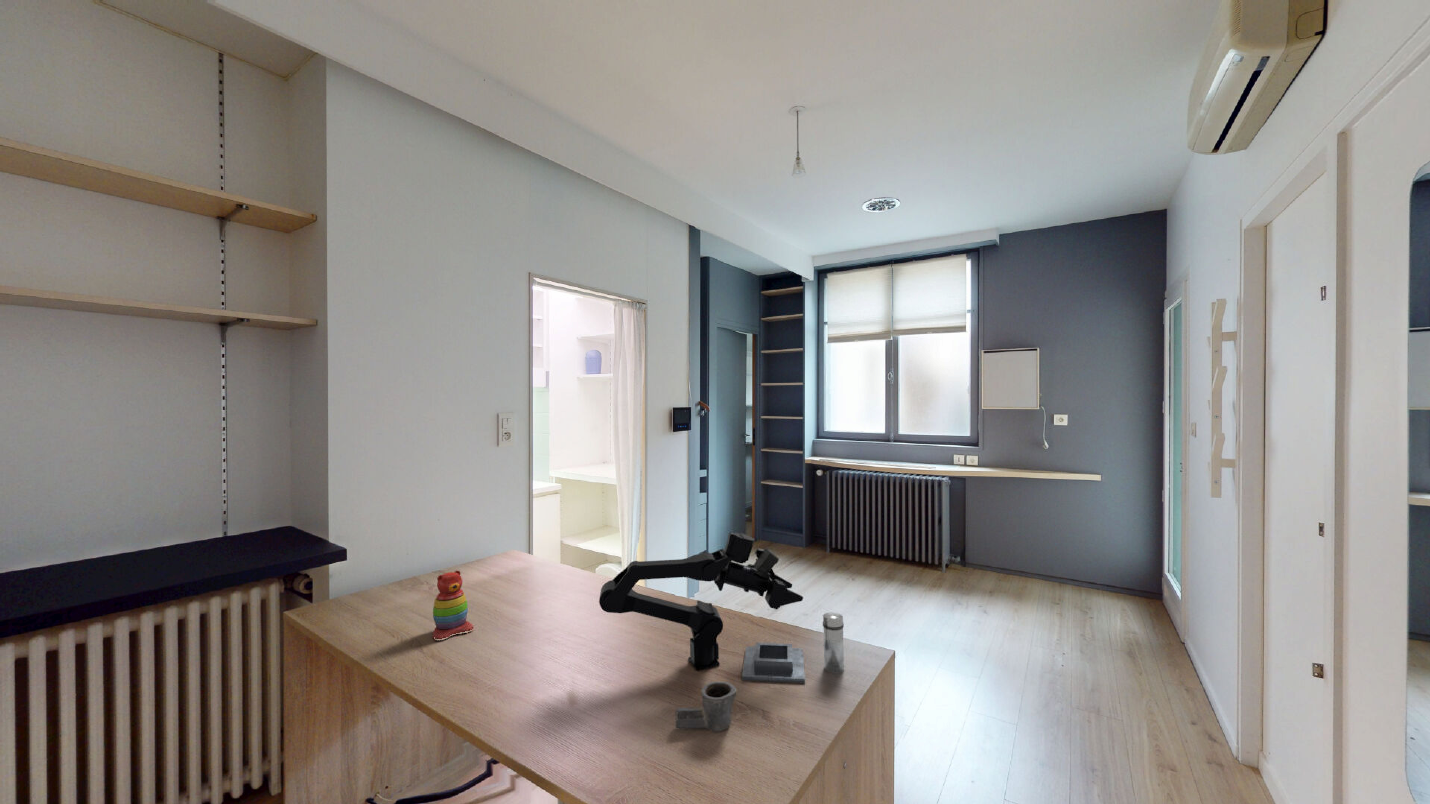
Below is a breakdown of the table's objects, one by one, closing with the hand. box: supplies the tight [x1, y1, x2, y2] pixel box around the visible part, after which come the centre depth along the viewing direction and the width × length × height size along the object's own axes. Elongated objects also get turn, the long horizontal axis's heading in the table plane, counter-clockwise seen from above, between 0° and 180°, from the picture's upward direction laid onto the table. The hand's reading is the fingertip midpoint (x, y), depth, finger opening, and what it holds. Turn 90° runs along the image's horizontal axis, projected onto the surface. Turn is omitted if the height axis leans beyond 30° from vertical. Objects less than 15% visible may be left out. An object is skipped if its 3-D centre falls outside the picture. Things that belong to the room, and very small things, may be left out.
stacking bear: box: [432, 570, 474, 639], centre depth 157 cm, size 11×10×18 cm
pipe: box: [675, 681, 738, 733], centre depth 108 cm, size 6×13×8 cm, turn 95°
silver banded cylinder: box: [822, 612, 845, 674], centre depth 130 cm, size 5×5×13 cm
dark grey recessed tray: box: [741, 642, 806, 684], centre depth 132 cm, size 15×15×4 cm
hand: (797, 592), depth 138 cm, fingers open, 9 cm apart
